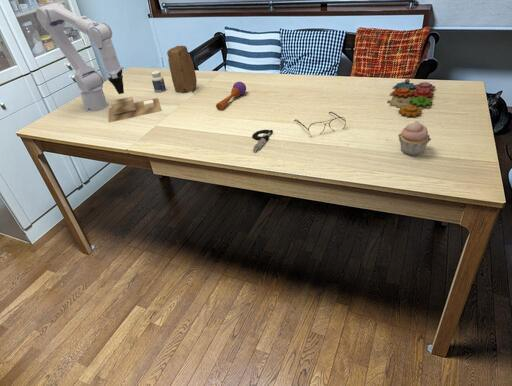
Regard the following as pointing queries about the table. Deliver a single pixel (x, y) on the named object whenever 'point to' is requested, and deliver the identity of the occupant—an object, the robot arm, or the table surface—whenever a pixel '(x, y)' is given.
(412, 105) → the gear puzzle
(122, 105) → the sanding block
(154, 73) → the pill bottle
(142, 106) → the board
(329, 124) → the glasses
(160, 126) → the table surface
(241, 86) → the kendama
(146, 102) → the eraser
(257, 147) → the micrometer
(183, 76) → the block
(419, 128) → the cupcake
